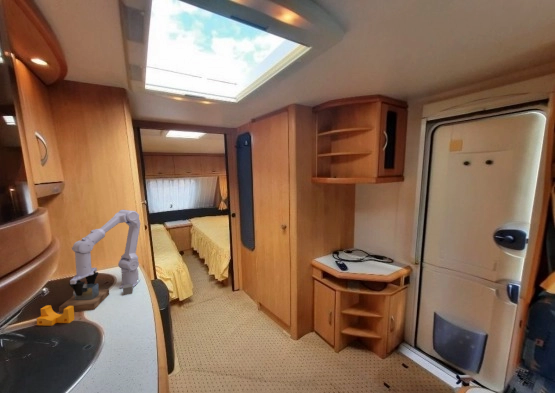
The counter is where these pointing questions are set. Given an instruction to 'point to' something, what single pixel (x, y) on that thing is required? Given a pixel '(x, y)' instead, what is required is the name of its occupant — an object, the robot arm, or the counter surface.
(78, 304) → the walnut stand
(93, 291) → the block
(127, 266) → the robot arm
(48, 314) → the pipe clamp
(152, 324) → the counter surface
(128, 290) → the grey rubber block
